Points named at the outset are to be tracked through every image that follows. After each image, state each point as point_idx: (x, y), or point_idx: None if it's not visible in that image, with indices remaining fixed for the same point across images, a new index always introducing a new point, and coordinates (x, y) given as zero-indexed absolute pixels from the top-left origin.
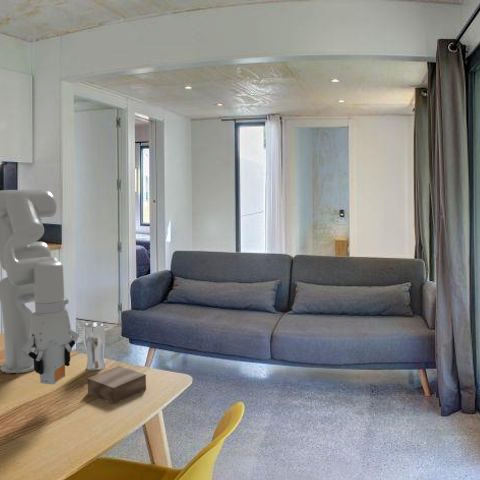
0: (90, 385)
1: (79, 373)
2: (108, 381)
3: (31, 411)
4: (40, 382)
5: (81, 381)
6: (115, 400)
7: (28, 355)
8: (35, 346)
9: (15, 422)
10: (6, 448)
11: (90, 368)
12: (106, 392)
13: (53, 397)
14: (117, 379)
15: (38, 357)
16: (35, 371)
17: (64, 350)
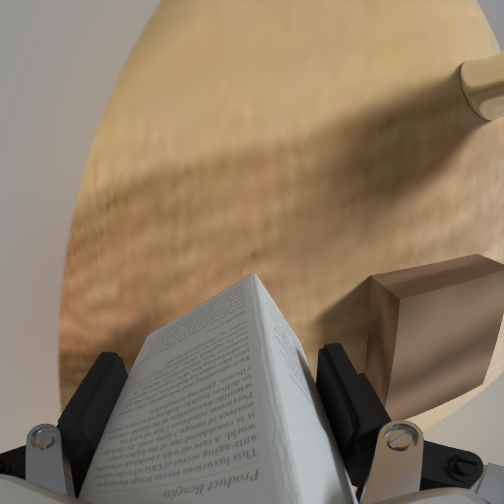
0: (385, 307)
1: (433, 78)
2: (412, 378)
3: (143, 270)
4: (147, 337)
5: (412, 148)
6: None
7: (5, 461)
8: (21, 488)
9: (85, 308)
10: (63, 401)
11: (469, 93)
12: (376, 385)
13: (260, 207)
14: (435, 378)
15: (80, 489)
16: (103, 353)
17: (346, 477)
